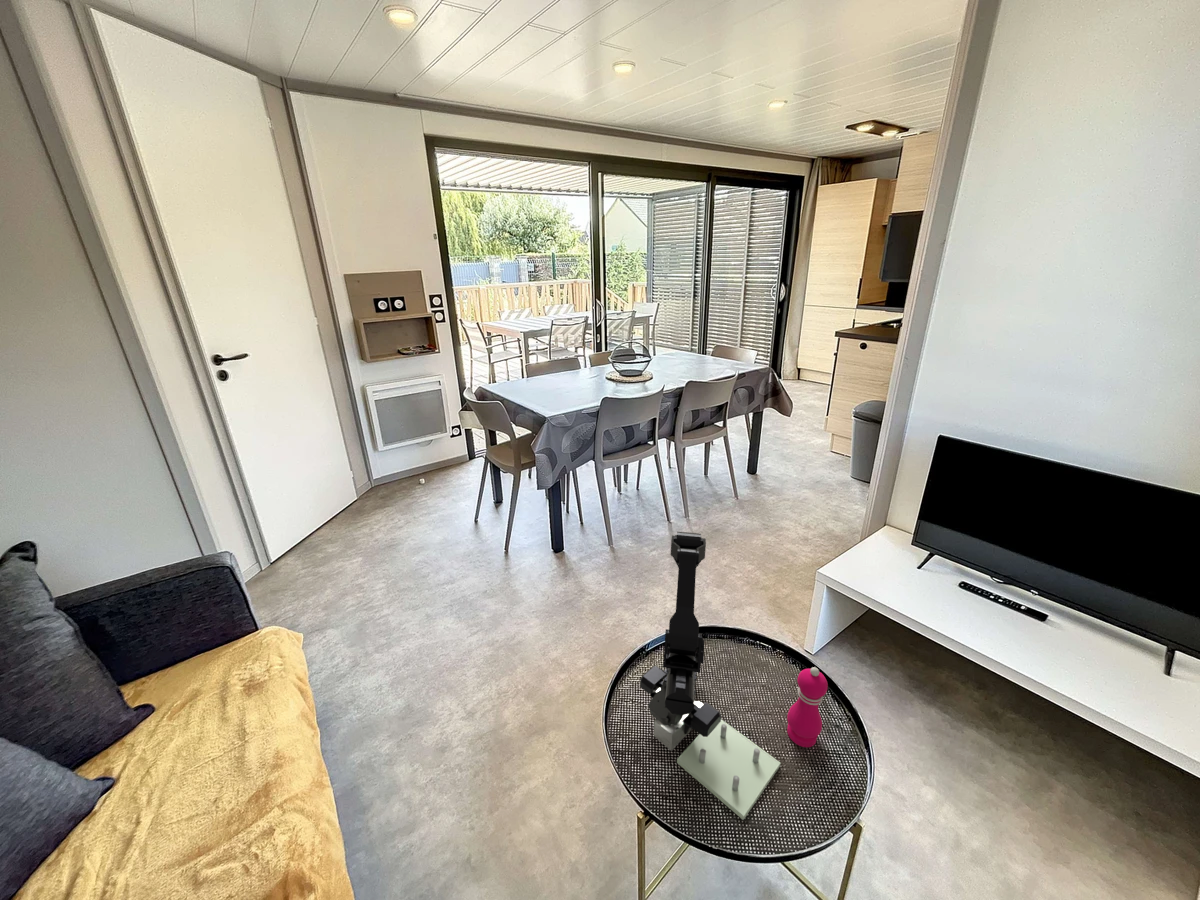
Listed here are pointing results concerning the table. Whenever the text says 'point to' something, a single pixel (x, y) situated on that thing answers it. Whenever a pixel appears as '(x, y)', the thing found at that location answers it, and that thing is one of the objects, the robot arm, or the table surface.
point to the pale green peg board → (730, 767)
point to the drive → (670, 733)
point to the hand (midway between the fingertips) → (677, 725)
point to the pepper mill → (807, 708)
